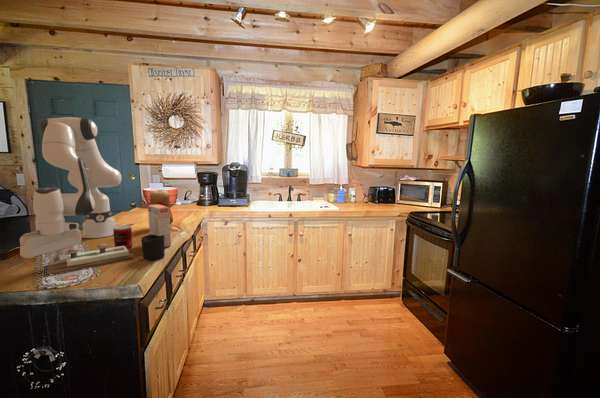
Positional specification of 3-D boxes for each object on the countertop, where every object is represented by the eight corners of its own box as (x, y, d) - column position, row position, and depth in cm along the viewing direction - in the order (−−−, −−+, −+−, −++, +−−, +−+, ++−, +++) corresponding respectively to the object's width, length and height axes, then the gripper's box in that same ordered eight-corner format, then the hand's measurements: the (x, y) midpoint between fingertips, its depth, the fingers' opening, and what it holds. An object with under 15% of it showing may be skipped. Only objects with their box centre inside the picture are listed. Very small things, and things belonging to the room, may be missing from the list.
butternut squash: (149, 231, 170) (147, 191, 166) (149, 227, 181) (147, 189, 178) (174, 229, 177) (172, 190, 173) (172, 224, 188) (170, 188, 184)
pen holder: (161, 252, 134) (160, 233, 132) (168, 258, 127) (167, 237, 126) (140, 257, 128) (138, 236, 126) (145, 263, 121) (144, 241, 119)
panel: (66, 259, 119) (65, 250, 118) (124, 249, 133) (123, 241, 132) (67, 266, 111) (66, 257, 111) (128, 255, 126) (128, 246, 125)
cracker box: (171, 246, 144) (169, 207, 141) (159, 249, 139) (157, 208, 136) (161, 240, 153) (159, 203, 150) (149, 242, 149) (147, 204, 146)
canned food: (129, 244, 145) (127, 224, 143) (135, 247, 140) (133, 226, 138) (112, 248, 139) (110, 226, 138) (118, 251, 134) (116, 229, 133)
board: (47, 264, 116) (46, 249, 115) (127, 250, 136) (126, 237, 135) (47, 275, 106) (45, 258, 105) (133, 258, 125) (132, 244, 124)
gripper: (25, 235, 99) (29, 271, 101) (82, 223, 119) (85, 254, 121) (13, 233, 101) (17, 269, 103) (71, 222, 121) (74, 252, 122)
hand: (54, 261), depth 112 cm, fingers closed
